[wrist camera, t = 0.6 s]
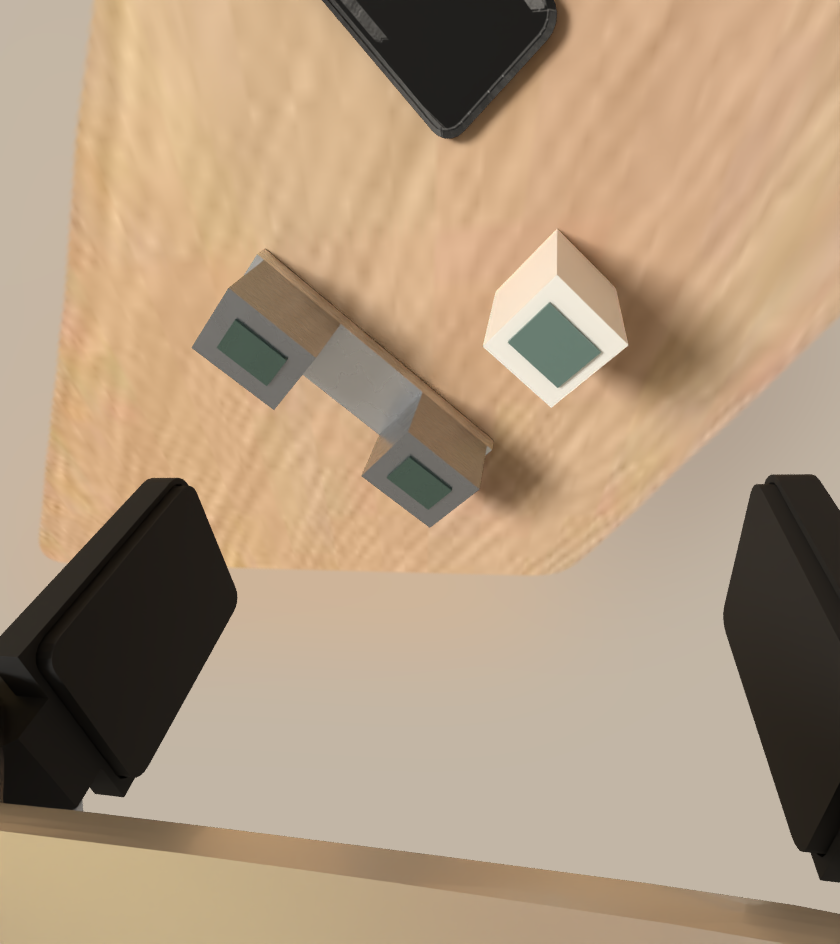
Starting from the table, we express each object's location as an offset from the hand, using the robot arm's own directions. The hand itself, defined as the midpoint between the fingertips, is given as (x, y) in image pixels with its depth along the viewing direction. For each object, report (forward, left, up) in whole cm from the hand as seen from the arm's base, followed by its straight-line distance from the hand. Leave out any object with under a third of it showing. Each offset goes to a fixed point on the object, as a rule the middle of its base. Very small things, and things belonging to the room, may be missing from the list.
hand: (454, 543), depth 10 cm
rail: (+16, 0, -29) cm, 33 cm away
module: (+3, +5, -29) cm, 29 cm away
